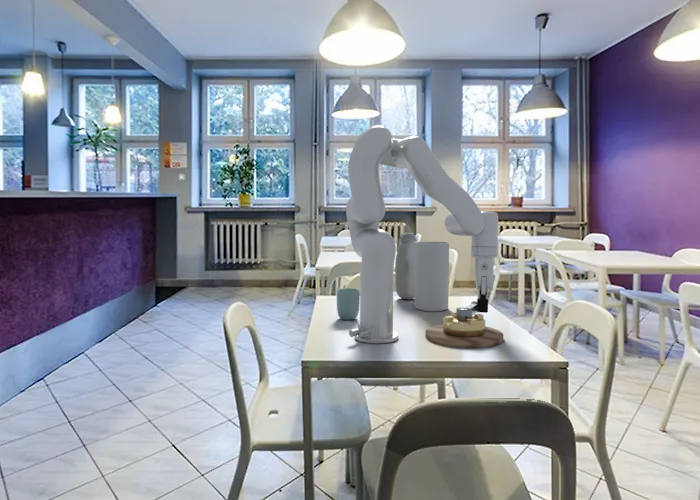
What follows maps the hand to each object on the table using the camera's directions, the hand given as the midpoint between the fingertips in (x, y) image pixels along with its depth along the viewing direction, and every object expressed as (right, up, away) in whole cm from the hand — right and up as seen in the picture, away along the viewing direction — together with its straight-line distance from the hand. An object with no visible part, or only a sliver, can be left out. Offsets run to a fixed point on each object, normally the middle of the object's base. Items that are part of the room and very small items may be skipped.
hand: (482, 311), depth 144 cm
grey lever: (-5, -5, -4) cm, 8 cm away
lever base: (-7, -7, -7) cm, 12 cm away
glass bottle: (-16, -2, +53) cm, 55 cm away
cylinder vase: (-10, -3, +34) cm, 35 cm away
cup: (-41, -5, +17) cm, 45 cm away
